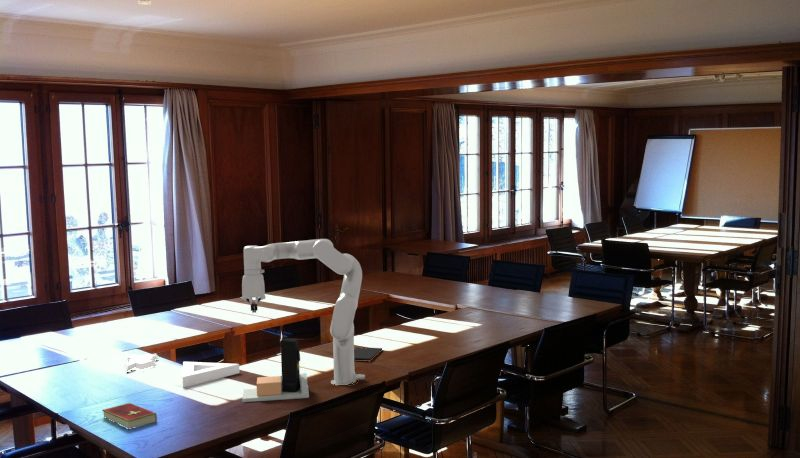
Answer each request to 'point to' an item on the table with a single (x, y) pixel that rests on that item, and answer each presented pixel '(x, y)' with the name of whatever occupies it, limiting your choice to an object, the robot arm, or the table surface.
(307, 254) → the robot arm
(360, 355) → the external hard drive
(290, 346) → the portable radio
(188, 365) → the triangle block
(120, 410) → the hardcover book
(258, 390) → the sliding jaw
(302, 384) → the vise bed
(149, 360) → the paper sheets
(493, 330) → the table surface
